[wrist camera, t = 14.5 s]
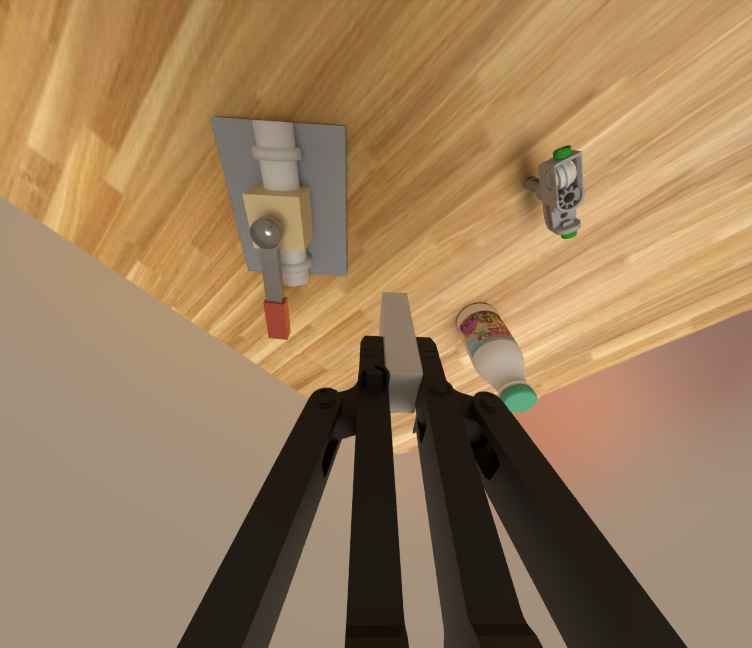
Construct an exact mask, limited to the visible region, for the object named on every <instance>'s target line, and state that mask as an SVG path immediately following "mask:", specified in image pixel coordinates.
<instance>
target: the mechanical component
mask: <svg viewBox="0 0 752 648" xmlns="http://www.w3.org/2000/svg"><path fill="white" fill-rule="evenodd" d="M570 160H571V161H573V162H574V164H575V166H576V169H577V176H576V179H575V169H574V166H573V164H572V163H571V162H570ZM538 174H539V179H538V178H535V177H531V179H530V180H529V179H527V180H525V181H524V187H525V188H526V189H528V190H531V191H533V192H536V197H537V198H538V199H540V200H542V204H543V211H544V219H545V223H546V226H547V227H548V229H549V230H550V231H552V232H554V233H555V234H557V235H561V237H562V238H563V239H569V238H572V237H574V236H576V235H577V230H578V229H579V228H580V227H581V224H580V220H579V219H577V218H576V207H578V206H579V205H580V204H581V202H582V201H583V199H584V196H585V188H584V187H583V167H582V151H575V150H572V151H571V146H570V145H568V146H564V147H561V148H559V149H557V150H555V151H554V152H553V158H551V159H549V160H547V161H545V162H543V163H541V164H540V165H539V167H538Z"/></svg>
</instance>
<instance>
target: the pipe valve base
mask: <svg viewBox="0 0 752 648" xmlns="http://www.w3.org/2000/svg"><path fill="white" fill-rule="evenodd" d="M210 118H211V123H212V127H213V131H214V135H215V139H216V143H217V147H218V151H219V155H220V159H221V163H222V167H223V171H224V175H225V179H226V183H227V187H228V191H229V195H230V199H231V203H232V207H233V211H234V215H235V219H236V223H237V227H238V231H239V235H240V239H241V243H242V247H243V251H244V255H245V259H246V263H247V267H248V271H256V272H262V266H261V259H260V252H259V246H258V245H256V244H255V243H254V242H253V240H252V238H251V236H250V227H251V225H252V224H253V223H254V222H255V221H256V220H257V219H259V218H260V217H261V216H263V215H271V216H274V217H276V218H277V219H278V220H279V221H280V222H281V223H282V225H283V227H284V231H285V234H284V237H283V239H282V240H281V241H280V243H279V244H280V255H281V265H282V276H283V285H286V286H301V285H304V284H306V283H307V282H308V281H309V274H320V275H342V276H347V137H346V126H337V125H323V124H309V123H295V122H281V121H267V120H253V119H238V118H224V117H210Z"/></svg>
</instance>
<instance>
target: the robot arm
mask: <svg viewBox="0 0 752 648" xmlns="http://www.w3.org/2000/svg"><path fill="white" fill-rule="evenodd" d="M379 331H380V336H364V338H363V339H362V341H361V344H360V364H359V374H358V381H357V383H356V384H355V386H354V387H352V388H350V389H348V390H346V391H342V392H337V391H336V390H334V389H332V388H321V389H318V390H316V391H315V392H313V393H312V395H311V396H310V397H309V399H308V401H307V403H306V405H305V407H304V409H303V411H302V413H301V414H300V416H299V418H298V420H297V422H296V424H295V426H294V428H293V429H292V431H291V433H290V435H289V437H288V439H287V441H286V443H285V445H284V446H283V448H282V450H281V452H280V454H279V456H278V458H277V460H276V461H275V464H274V465H273V467H272V469H271V471H270V473H269V475H268V477H267V478H266V481H265V482H264V484H263V486H262V488H261V490H260V492H259V494H258V495H257V497H256V499H255V501H254V503H253V505H252V507H251V509H250V510H249V512H248V514H247V516H246V518H245V520H244V522H243V524H242V526H241V527H240V529H239V531H238V533H237V535H236V537H235V539H234V541H233V543H232V544H231V547H230V548H229V550H228V552H227V554H226V556H225V558H224V560H223V561H222V563H221V565H220V567H219V569H218V571H217V573H216V575H215V577H214V578H213V580H212V582H211V584H210V586H209V588H208V590H207V592H206V593H205V595H204V597H203V599H202V601H201V603H200V605H199V607H198V608H197V610H196V612H195V614H194V616H193V618H192V620H191V622H190V624H189V625H188V627H187V629H186V631H185V633H184V635H183V637H182V639H181V641H180V642H179V644H178V646H177V648H268V646H269V643H270V640H271V638H272V635H273V632H274V629H275V626H276V623H277V621H278V618H279V615H280V612H281V609H282V607H283V604H284V601H285V598H286V595H287V593H288V590H289V587H290V584H291V581H292V579H293V576H294V573H295V570H296V567H297V564H298V561H299V559H300V556H301V553H302V550H303V547H304V545H305V541H306V539H307V536H308V533H309V530H310V528H311V525H312V522H313V519H314V516H315V514H316V511H317V508H318V505H319V502H320V499H321V497H322V494H323V491H324V488H325V485H326V483H327V480H328V477H329V474H330V471H331V468H332V466H333V463H334V460H335V457H336V454H337V452H338V449H339V446H340V443H341V440H342V439H344V438H347V437H350V436H354V435H356V438H355V439H356V441H355V459H354V480H353V499H352V520H351V539H350V559H349V580H348V602H347V619H346V635H345V648H409V644H408V637H407V632H406V627H405V621H404V611H403V597H402V584H401V583H402V582H401V566H400V551H399V536H398V521H397V506H396V491H395V478H394V477H395V476H394V462H393V446H392V431H391V415H390V412H394V413H414V410H415V408H416V419H415V424H414V428H413V433H415V432H416V433H417V440H418V448H419V455H420V461H421V469H422V476H423V483H424V490H425V497H426V505H427V512H428V519H429V526H430V533H431V540H432V547H433V554H434V561H435V568H436V576H437V583H438V590H439V597H440V604H441V611H442V618H443V625H444V648H543V647H542V645H541V643H540V641H539V639H538V637H537V636H536V634H535V633H534V632H533V631H532V629H531V628H530V627H529V626H528V624H527V623H526V621H525V619H524V617H523V614H522V611H521V608H520V605H519V602H518V598H517V595H516V592H515V589H514V585H513V582H512V579H511V576H510V572H509V569H508V566H507V563H506V559H505V556H504V553H503V549H502V546H501V543H500V539H499V536H498V533H497V529H496V526H495V523H494V520H493V516H492V513H491V510H490V506H489V504H488V500H487V497H486V493H487V495H488V497H489V498H490V500H491V502H492V504H493V506H494V508H495V510H496V512H497V514H498V516H499V518H500V519H501V521H502V523H503V525H504V527H505V529H506V531H507V533H508V535H509V537H510V538H511V540H512V542H513V544H514V546H515V548H516V550H517V552H518V554H519V556H520V558H521V560H522V561H523V563H524V565H525V567H526V569H527V571H528V573H529V575H530V577H531V578H532V581H533V583H534V584H535V586H536V588H537V590H538V592H539V594H540V596H541V598H542V600H543V601H544V603H545V605H546V607H547V609H548V611H549V613H550V615H551V617H552V619H553V621H554V623H555V625H556V626H557V628H558V630H559V632H560V634H561V636H562V638H563V640H564V642H565V644H566V645H567V648H687V646H686V645H685V644H684V642H683V641H682V640H681V638H680V637H679V636H678V634H677V633H676V632H675V630H674V629H673V628H672V626H671V625H670V624H669V622H668V621H667V620H666V618H665V617H664V616H663V614H662V613H661V612H660V610H659V609H658V608H657V606H656V605H655V604H654V602H653V601H652V600H651V598H650V597H649V596H648V594H647V593H646V592H645V590H644V589H643V588H642V586H641V585H640V584H639V582H638V581H637V580H636V578H635V577H634V576H633V574H632V573H631V572H630V570H629V569H628V568H627V566H626V565H625V564H624V562H623V561H622V559H621V558H620V557H619V555H618V554H617V553H616V551H615V550H614V549H613V547H612V546H611V545H610V544H609V542H608V541H607V539H606V538H605V537H604V535H603V534H602V533H601V531H600V530H599V529H598V527H597V526H596V525H595V523H594V522H593V521H592V519H591V518H590V517H589V516H588V514H587V513H586V511H585V510H584V509H583V507H582V506H581V505H580V503H579V502H578V501H577V500H576V498H575V497H574V495H573V494H572V493H571V491H570V490H569V489H568V487H567V486H566V485H565V484H564V482H563V481H562V479H561V478H560V477H559V475H558V474H557V473H556V471H555V470H554V469H553V467H552V466H551V465H550V463H549V462H548V461H547V459H546V458H545V457H544V455H543V454H542V453H541V452H540V450H539V449H538V447H537V446H536V445H535V444H534V442H533V441H532V440H531V438H530V437H529V436H528V434H527V433H526V432H525V430H524V429H523V428H522V426H521V425H520V423H519V422H518V421H517V420H516V418H515V417H514V416H513V414H512V413H511V411H510V410H509V409H508V407H507V406H506V405H505V403H504V402H503V401H502V400H501V399H500V398H499V397H498V396H496V395H495V394H493V393H490V392H478V393H476V394H475V396H474V397H473V396H470V395H467V394H463V393H460V392H458V391H456V390H454V389H453V387H452V385H451V384H450V383H449V382H447V380H446V378H445V374H444V371H443V367H442V364H441V360H440V358H439V353H438V350H437V347H436V344H435V343H434V341H433V340H432V339H431V338H429V337H415V332H414V327H413V322H412V317H411V312H410V307H409V302H408V297H407V293H388V292H382V302H381V314H380V326H379ZM484 489H485V490H484ZM485 491H486V493H485Z"/></svg>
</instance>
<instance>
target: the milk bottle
mask: <svg viewBox="0 0 752 648" xmlns="http://www.w3.org/2000/svg"><path fill="white" fill-rule="evenodd" d="M457 328H458V331H459V333H460V336H461V338H462V340H463V343H464V345H465V348H466V350H467V352H468V354H469V357H470V359H471V361H472V363H473V365H474V368H475V369H476V371H477V372H478V374H479V375H480V376H481V377H482V378H483V379H484V380H485V381H487V382H488V383H489V384H490V385H492V386H493V387H494V388H495V389H496V390H497V392H498V397H499V398H500V399H501V400H502V401H503V402H504V403H505V405H506V406H507V407H508V409H509V410H510V411H511V412H513V413H517V412H523V411H526V410H528V409H530V408H532V407H533V406H534V405H535V403H536V402H537V396H536V394H535V392H534V390H533V389H532V388H531V385H530V384H529V383H527V382H526V380H525V375H524V358H523V355H522V352H521V350H520V348H519V346H518V345H517V343H516V341H515V340H514V338H513V337H512V335H511V333H510V332H509V330H508V329H507V327H506V326H505V324H504V323H503V321H502V320H501V318H500V317H499V315H498V314H497V312H496V311H495V309H494V308H493V307H491V306H490V305H487V304H482V303H477V304H473V305H470V306H468V307H466V308H465V309H464V310H462V312H461V313H460V314H459V316H458V318H457Z"/></svg>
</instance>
